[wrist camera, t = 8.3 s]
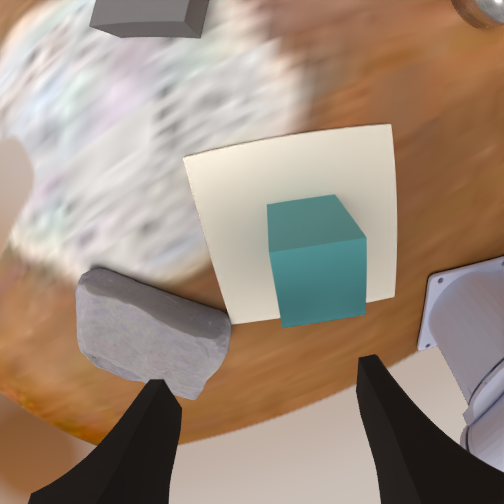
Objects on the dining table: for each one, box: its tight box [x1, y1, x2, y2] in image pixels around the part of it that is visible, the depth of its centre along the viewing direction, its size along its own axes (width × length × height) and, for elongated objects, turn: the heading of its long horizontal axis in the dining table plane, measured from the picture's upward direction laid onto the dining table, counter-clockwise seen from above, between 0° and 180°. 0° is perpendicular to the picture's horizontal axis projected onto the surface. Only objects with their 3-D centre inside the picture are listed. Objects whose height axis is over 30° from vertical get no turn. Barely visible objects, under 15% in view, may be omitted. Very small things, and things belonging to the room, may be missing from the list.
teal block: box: [267, 194, 367, 328], centre depth 15 cm, size 4×4×6 cm
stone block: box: [75, 268, 231, 400], centre depth 22 cm, size 12×5×10 cm
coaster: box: [183, 124, 397, 324], centre depth 18 cm, size 12×12×1 cm
